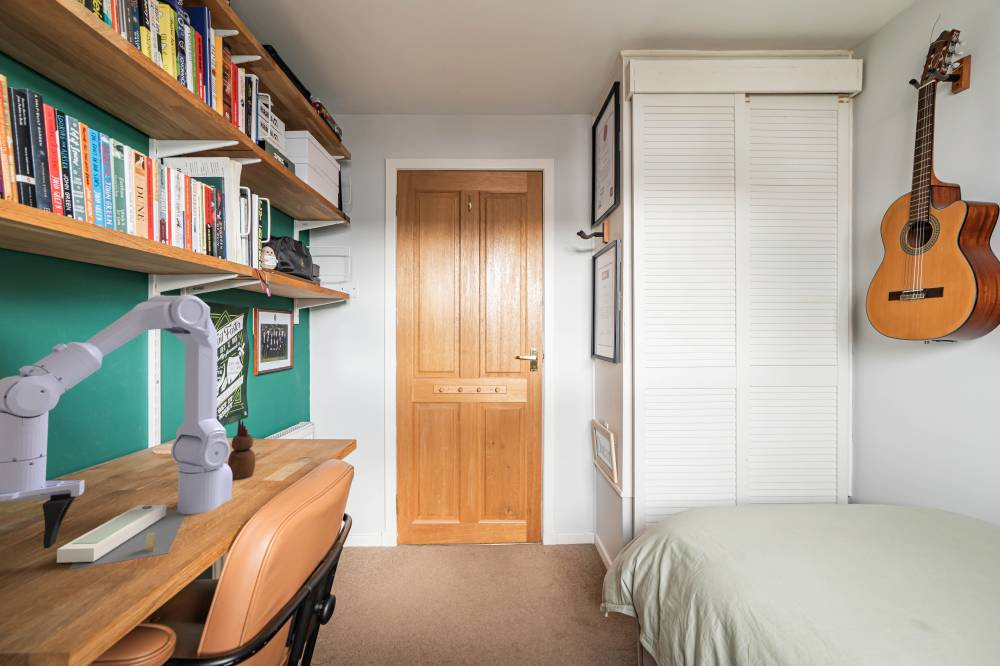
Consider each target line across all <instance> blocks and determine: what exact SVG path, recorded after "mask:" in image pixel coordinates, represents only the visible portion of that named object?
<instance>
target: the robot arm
mask: <svg viewBox="0 0 1000 666" xmlns="http://www.w3.org/2000/svg"><path fill="white" fill-rule="evenodd" d="M153 330H163V331H165V332H169V333H171V334H172V335H174V336H175V337H176V338H178V339H179V340H180V341H181V342H182V343H183V344H184V407H183V408H184V412H183V413H184V415H183V422H182V423H181V424H180V425H179V426H178V428H177V429H176V432H175V433H176V436H175V439H174V442H173V443H172V446H171V449H170V453H171V457H172V459H173V460H174V461H175V462H176V463H177V468H178V479H177V481H178V482H177V506H176V507H177V508H176V509H177V511H178V512H179V513H182V514H186V515H197V514H198V515H199V514H202V513H207V512H210V511H213V510H216V509H218V508H219V507H220V506H221V505H223V504H225V503H227V502H229V501H231V500H232V495H233V493H232V492H233V479H232V471H231V468H230V467H229V466H228V463H226V462H227V461H228V460H229V456H230V454H231V446H230V442H229V441H228V439H227V429H226V428H225V427H224V426H223V425H222V423H220V422H219V420H218V419H217V418H218V417H217V415H218V413H217V412H218V410H217V408H218V407H217V406H218V403H217V402H218V399H217V398H218V395H217V394H218V339H219V338H218V332H217V329H216V327H215V324H214V323H213V320H212V318H211V306H209V305H208V304H207V303H205V302H204V301H203V300H202V298H199V297H198V296H196V295H193V294H184V295H160V294H159V295H153V296H151V297H149V298H148V299H147V300H146V301H141V302H140V303H137V304H136V305H135V306H134V307H133V308H132V309H131V310H129V311H127V313H125V314H123V315H122V316H121V317H119V318H118V319H116V320H114V322H112V323H111V324H109V325H107V326H106V327H105V328H104V329H102V330H101V331H99V332H97V334H95V335H93V336H92V337H90V338H89V339H87V340H86V341H85V342H79V341H78V342H77V341H70V342H67V343H66V344H65V343H58V344H56V345H54V346H52V347H51V350H52V351H53V352H51V353H49V354H48V355H46V356H44V357H43V358H41V359H40V360H38V361H37V362H35V363H33V364H32V365H24V366H22V367H20V368H19V369H18V371H19V373H20V375H13V376H6V377H3V378H2V379H0V503H8V502H9V503H10V502H18V501H26V500H27V501H28V500H36V499H37V500H39V499H47V500H46V501H45V502H44V503H42V510H43V517H44V531H43V533H44V534H43V542H42V543H43V549H49V548H51V547H52V546H54V544H56V541H57V537H58V533H59V531H60V527H61V525H62V523H63V520H64V518H65V517H66V515H67V513H68V512H69V511H68V510H69V509H70V507H71V505H72V504H73V502H74V501H75V499H76V498H77V497H79V496H81V495H82V494H83V493H84V492H85V479H79V480H46V479H47V478H46V477H47V459H48V458H47V457H48V456H47V455H48V452H47V451H48V435H49V433H48V432H49V413H50V411H51V410H53V409H54V408H55V407H56V406H57V404H58V402H59V400H60V398H61V397H60V396H61V395H63V394H64V393H66V392H68V391H70V389H72V388H73V387H75V386H76V385H78V384H79V383H81V382H83V381H84V380H85V379H87V378H88V377H89V376H91V375H92V374H94V373H95V372H97V371H98V370H100V369H101V367H102V365H103V364H102V363H103V358H104V357H106V356H107V355H108V354H110V353H112V352H113V351H115V350H117V349H119V348H120V347H122V346H123V345H125V344H127V343H129V342H130V341H132V340H133V339H135V338H137V337H138V336H139V335H142V334H143V333H145V332H146V331H153ZM48 498H49V499H48Z"/></svg>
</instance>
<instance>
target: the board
mask: <svg viewBox="0 0 1000 666" xmlns="http://www.w3.org/2000/svg"><path fill="white" fill-rule="evenodd" d="M186 515H187V514H182V513H179V512H178V511H177V508H176V509H169V510H166V515H165V516H164V517H162V518H161V519H159V520H158V521H156V522H154V523H153V524H151V525H150V526H148V527H147V528H145V529H143V530H142V531H140V532H139V533H137V534H136V535H134V536H133V537H131V538H129V539H128V540H126V541H125V542H123V543H122V544H120V545H119V546H117V547H115V548H114V549H112V550H111V551H109V552H108V553H106V554H104V555H103V556H101V557H100V558H98V559H97V560H95V561H93V562H72V564H71V565H70V567H69V568H68V570H72V569H73V570H74V569H79V568H85V567H92V566H99V565H104V564H111V563H117V562H125V561H129V560H130V561H131V560H136V559H137V560H138V559H142V558H149V557H155V556H156V557H157V556H162V555H168V554H169V552H170V550H171V548H172V545H173V543H174V541H175V540H176V536H177V534H178V533H179V529H180V528H181V525H182V523H183V521H184V520H185V516H186ZM115 517H116V516H112V517H110V519H109V520H108V521H110V520H112V519H113V518H115Z"/></svg>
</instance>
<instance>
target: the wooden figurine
mask: <svg viewBox="0 0 1000 666" xmlns="http://www.w3.org/2000/svg"><path fill="white" fill-rule="evenodd" d="M253 444H254V437H253V436H252V434H249V431H248V429H247V427H246V425H244V421H242V420H241V418H238V423H237V433H236V435H234V436H233V438H232V440H231V448H232V449H233V450H232V451H230V454H229V457H228V459H227V465H228V466H229V467H230V468H231V471H232V480H244V479H249V478H251V477H253V475H254V472H255V469H256V467H255V466H256V457H255V452H254V451H253V450H252V449H251V448H252V447H253Z"/></svg>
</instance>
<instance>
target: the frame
mask: <svg viewBox="0 0 1000 666" xmlns="http://www.w3.org/2000/svg"><path fill="white" fill-rule="evenodd" d="M166 511H167V504H137V505H135V506H134V507H131V508H130V509H128V510H126V511H124V512H122V513H121V514H119V515H117V516H114V517H115V518H113V519H112V520H110V519H109V520H110V521H109V520H108V521H106V522H104V523H103V524H100V525H99V526H97V527H96V528H93V529H91V530H89V531H87V532H86V533H84V534H82V535H80V536H79V537H76V538H75V539H73V540H71V541H70V542H68V543H66V544H64V545H63V546H61V547H59V548H57V549H56V563H58V564H59V563H60V564H61V563H74V562H93V561H95V560H97V559H98V558H100V557H101V556H103V555H104V554H106V553H108V552H109V551H111V550H112V549H114V548H115V547H117V546H119V545H120V544H122V543H123V542H125V541H126V540H128V539H129V538H131V537H133V536H134V535H136V534H137V533H139V532H140V531H142V530H143V529H145V528H147V527H148V526H150V525H151V524H153V523H154V522H156V521H158V520H159V519H161V518H162V517H164V516H165V515H166Z"/></svg>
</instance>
